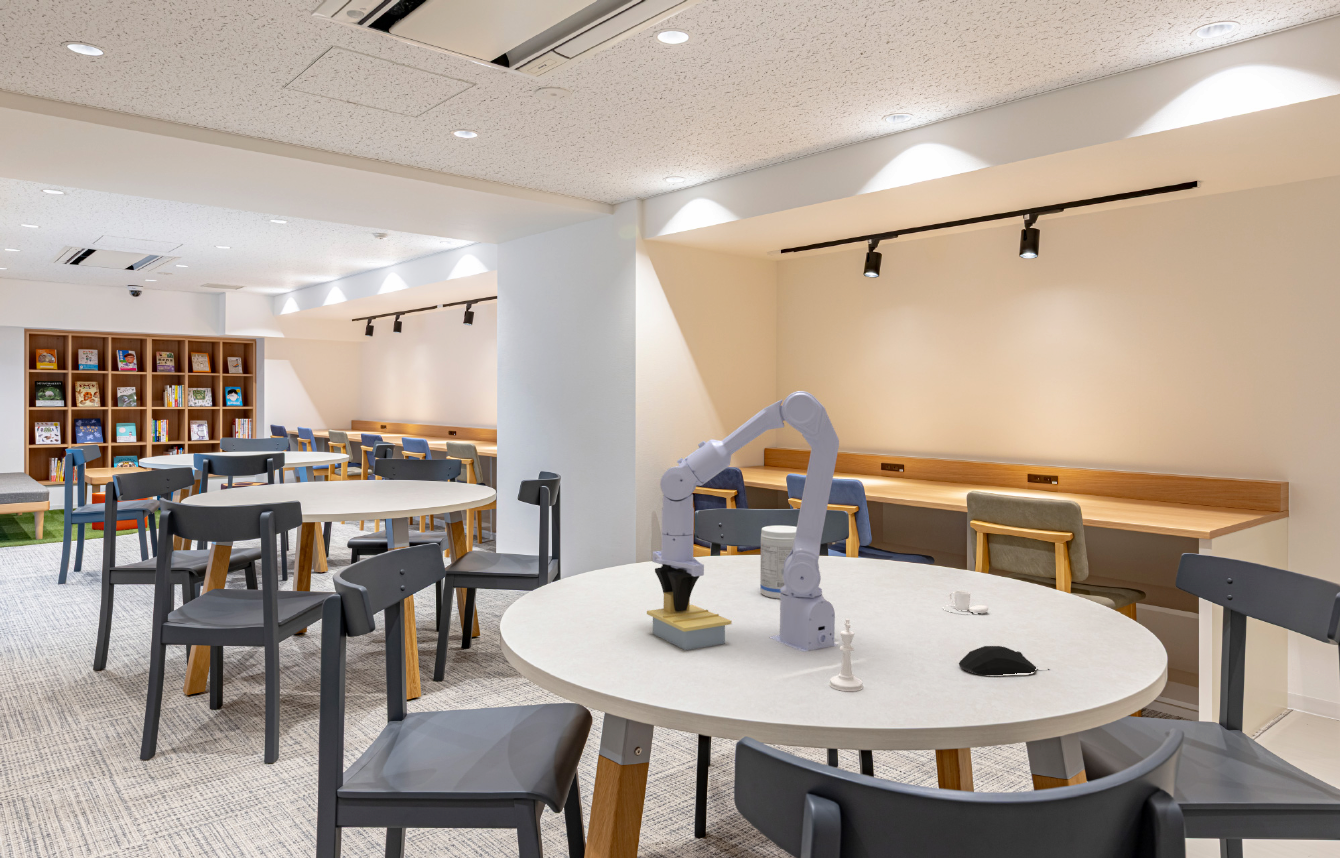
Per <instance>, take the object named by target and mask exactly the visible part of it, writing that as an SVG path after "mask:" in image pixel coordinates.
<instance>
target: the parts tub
mask: <svg viewBox="0 0 1340 858" xmlns="http://www.w3.org/2000/svg"><path fill="white" fill-rule="evenodd" d="M652 635H655V636H656V637H658V638H660V639H662V640H663V641H664V640H665V641H666V642H668V643H670V644H672V645H674V646H676V647H678V648H680V649H682V650H684V651H688V650H690V651H691V650H694V649H695V650H696V649H701V648H707V647H712V646H718V645H719V646H720V645H724V644H726V642H725V641H726V639H725V638H726V625H724V626H717V627H711V628H704V629H698V630H692V631H685V632H684V631H682V630H679V629H677V628H675V627H673V626H671V625H669V624H667V623H665V622H663V621H660V620H658V619H656V618H654V617H652Z"/></svg>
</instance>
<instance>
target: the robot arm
mask: <svg viewBox="0 0 1340 858" xmlns="http://www.w3.org/2000/svg"><path fill="white" fill-rule="evenodd" d="M781 404H782V405H781ZM784 422H786V423H787V424H788V425H789V426H790V427H792V428H793V429H794V430H795V431H797V432H799V433H800V434H801V435H802V437H803V438H804V440H805V441H806V442H807V444H808V445H809V446H810V455H809V460H808V464H807V470H806V477H805V481H804V486H803V492H802V497H801V502H800V509H799V512H798V519H797V524H796V527H797V529H796V534H795V538H794V542H793V547H792V550H791V552H790V554H789V555H788V556H787V558H786V559H785V562H784V573H783V580H784V584H785V585H784V586H783V587H782V588H781V590H780V591H781V593H780V599H779V602H780V605H779V634H778V635H777V634H776V635H773V636H769V639H772V640H774V641H776V642H778V643H781V644H783V645H786V646H788V647H791V648H794V649H796V650H798V651H800V652H809V651H814V650H815V651H816V650H820V649H825V648H830V647H837V646H838V645H839V644H837V643H836V642H835V631H836V630H835V628H836V625H835V620H836V613H835V609H834V606H833V604H832V603H831V602H830V601H828V600H827V599H825V597H824V596H823V589H822V588H821V587H820V584H821V579H822V577H821V576H822V575H821V572H820V565H819V564H820V563H819V559H820V551H821V542H822V536H823V531H824V527H825V521H826V515H827V511H828V504H829V501H830V494H831V489H832V483H833V480H834V479H833V478H834V475H835V474H834V473H835V468H836V463H837V457H838V452H839V447H840V439H839V437H838V435H837V432H836V430H835V428H834V427H833V423H832V422H831V419H830V416H829V415H828V413H827V410H826V408H825V406H824V405H823V404H822V403H821V402H820V400H818V399H817V398H816V396H814V394H812V393H810V392H807V391H805V390H798V391H794V392H792V393H790V394H789V395H787V397H786V398H785V399H784V400H783V399H780V400H778V401H776V402H773V403H772V404H770V405H768V406H766V407H764V408H762V409H761V410H760V411H759V412H757V413H756V414H754V415H753V416H752V417H750V418H749V419H748V420H747V421H746V422H744V423H743V424H742V425H740V426H739V427H738V428H736V429H735V430H734V431H732V432H731V433H730V434H729V435H727V436H726V437H725V438H723V439H722V440H718V439H713V438H712V439H709V440H708V441H706V440H702V441H700V443H698V445H697V446H698V448H697V449H696V450H694V451H693V452H691V453H690V454H689V455H687V456H686V457H685V458H683V457H681V458H679V459H677V460H676V463H677V464H678V465H676V466H672V467H669V468H668V469H667V470H666V471H665V472H664V473H663V475H662V476H661V479H660V482H659V483H660V490H661V492H662V494H663V495H662V508H661V546H660V547H661V548H660V549H661V550H657V551H656V550H655V551H652V558H651V559H652V563H655V564H658V565H661V566H660V567H656V568H655V569H654V573H655V575H656V576H657V578H658V580H659V582H660V585H661V588H662V592H663V595H664V593H665V592H673V601H674V608H675V611H677V612H679V611H686V610H687V607H688V603H689V599H691V595H692V592H693V590H694V587H695V586H696V583H697V581H698V579H699V578H700V577H702V576H704V575H705V564H703V563H701V562H699V561H698V560H697V559H696V558H695V557H694V524H695V522H694V519H695V507H694V495H693V493H694V491H695V490H696V488H697V486H699V487H700V486H701V487H702V486H703V485H704V484H706V483H708V481H710V480H711V479H713V478H714V477H716V476H718V475H719V473H721V472H722V471H724V470H726V469H727V468H728V467H729V466H730V465H731V459H732V455H733V454H734V453H736V452H737V451H739V450H740V449H742V448H743V447H745V446H746V445H748V444H750V443H751V442H752V441H753V440H755V439H756V438H758V437H760V436H761V435H763V434H764V433H765V432H767V431H769V430H774V429H781V428H782V429H783V428H785V423H784Z"/></svg>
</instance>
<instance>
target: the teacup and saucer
mask: <svg viewBox="0 0 1340 858" xmlns="http://www.w3.org/2000/svg"><path fill="white" fill-rule="evenodd" d="M952 594H953V597H954V598H953V597H952ZM948 597H949V599H950V602H951V603H952V605H954V606H955V607H954V608H955V609H957V610H956V611H958V610H968V611H969V612H970V613H971V612H973V613H981V614H986V613H987V612H988V611H989V606H987V605H984V604H983V605H972V607H970V608H969V606H970V602H971V592H969V591H965V590H955V591H953V592H950V593H949V595H948ZM953 599H954V600H953ZM948 605H949V604H946V606H948ZM942 608H944V607H943V606H942V607H941V609H942ZM943 611H945V609H944V610H943ZM950 611H951V610H950ZM950 611H949V612H948V613H950Z"/></svg>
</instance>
